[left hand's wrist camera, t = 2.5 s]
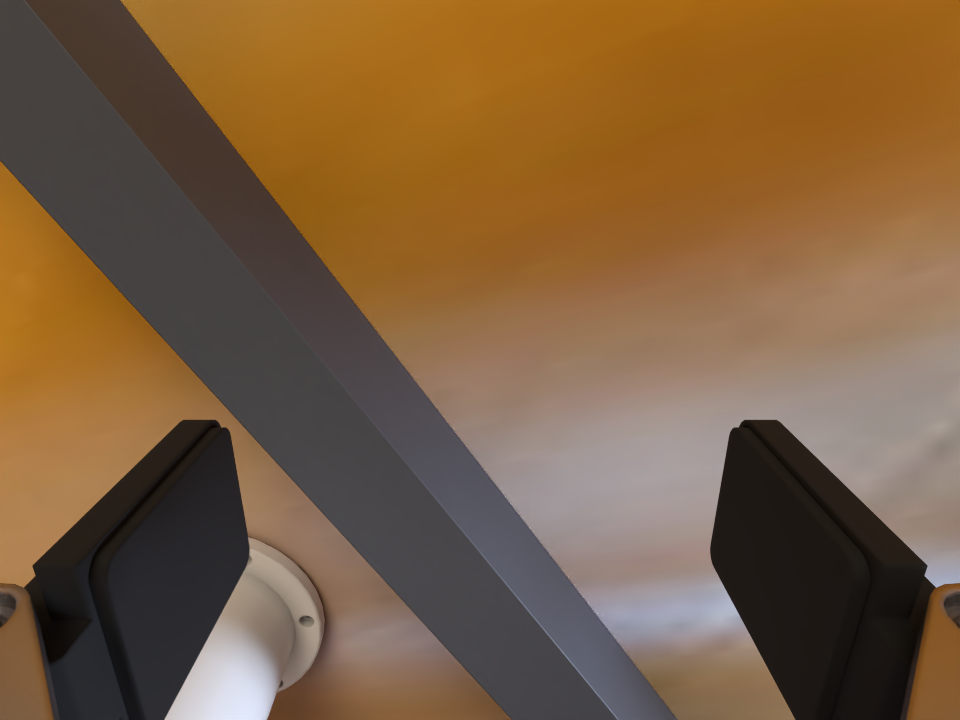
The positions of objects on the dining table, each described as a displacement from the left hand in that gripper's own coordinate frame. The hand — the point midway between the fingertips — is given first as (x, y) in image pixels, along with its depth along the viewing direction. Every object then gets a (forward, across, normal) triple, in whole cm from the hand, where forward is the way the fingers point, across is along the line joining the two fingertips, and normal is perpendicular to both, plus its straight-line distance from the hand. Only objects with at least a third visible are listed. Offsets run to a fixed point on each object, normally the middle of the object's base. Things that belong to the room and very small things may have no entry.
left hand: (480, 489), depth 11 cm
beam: (+19, -1, -13) cm, 23 cm away
